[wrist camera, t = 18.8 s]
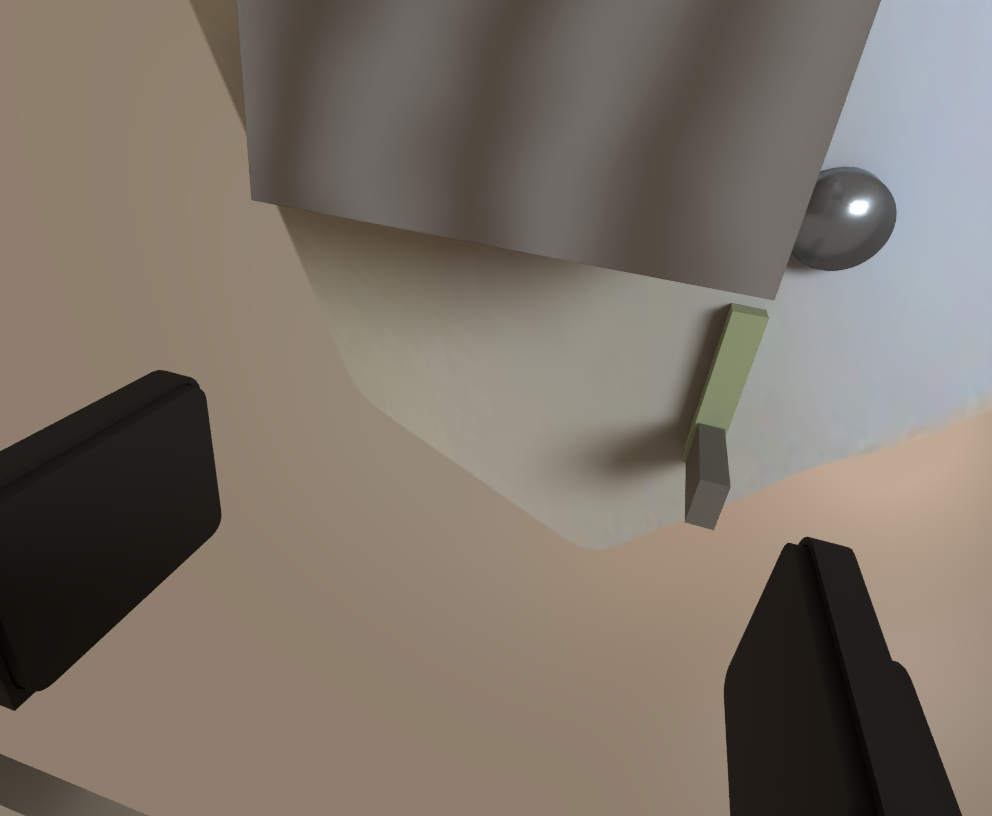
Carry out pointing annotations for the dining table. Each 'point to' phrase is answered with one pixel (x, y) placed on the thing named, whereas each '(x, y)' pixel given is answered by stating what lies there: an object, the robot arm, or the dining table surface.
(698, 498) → the scraper tool
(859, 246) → the grey rounded piece
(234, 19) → the dining table surface
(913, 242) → the dining table surface
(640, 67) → the walnut cabinet
